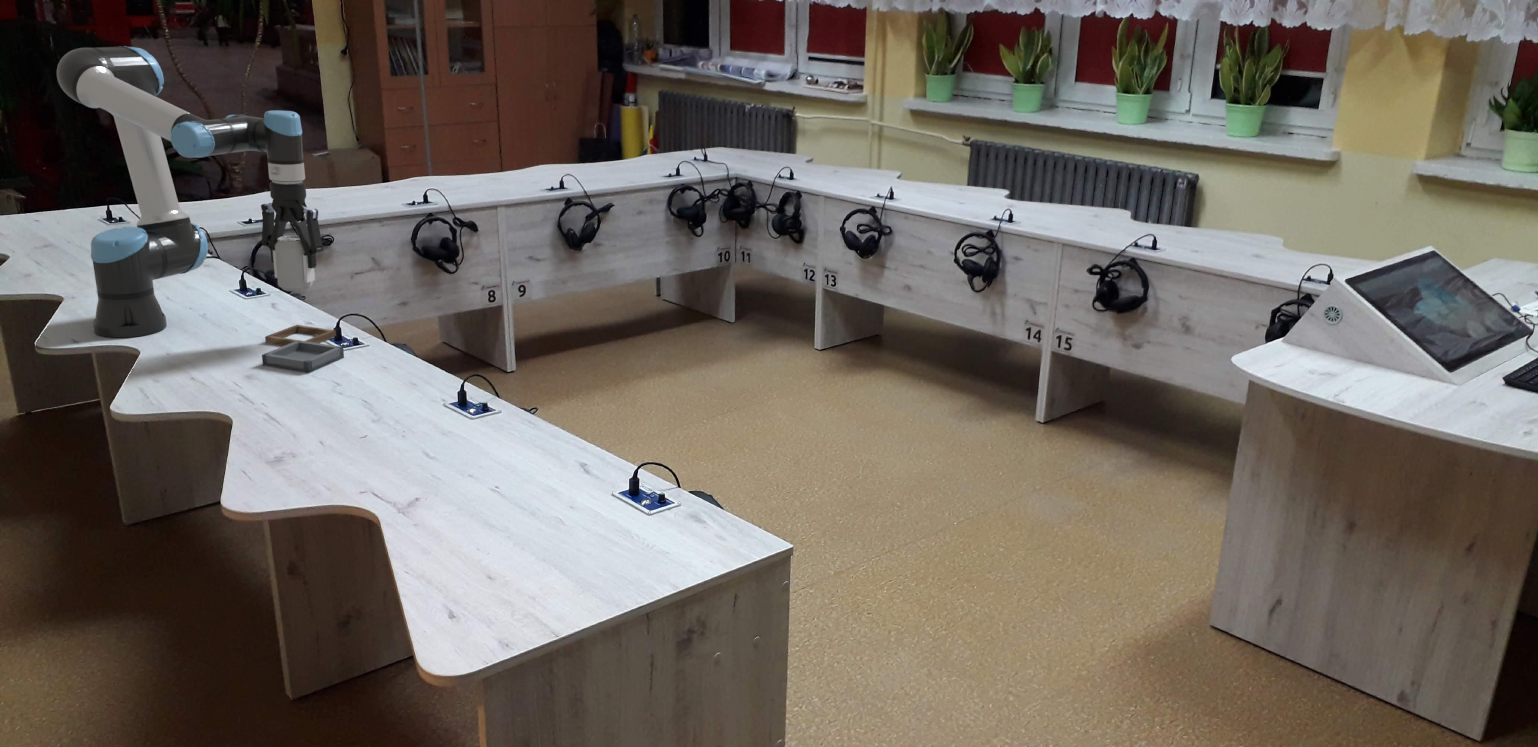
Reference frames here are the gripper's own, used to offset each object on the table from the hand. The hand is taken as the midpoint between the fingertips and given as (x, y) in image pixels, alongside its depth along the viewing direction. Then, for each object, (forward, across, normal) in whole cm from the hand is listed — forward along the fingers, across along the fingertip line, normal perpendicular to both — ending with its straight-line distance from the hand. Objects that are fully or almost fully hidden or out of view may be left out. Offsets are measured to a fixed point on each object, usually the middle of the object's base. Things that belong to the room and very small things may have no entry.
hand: (295, 278), depth 260 cm
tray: (+15, +12, -13) cm, 23 cm away
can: (+2, 0, 0) cm, 2 cm away
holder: (+15, 0, 0) cm, 15 cm away
